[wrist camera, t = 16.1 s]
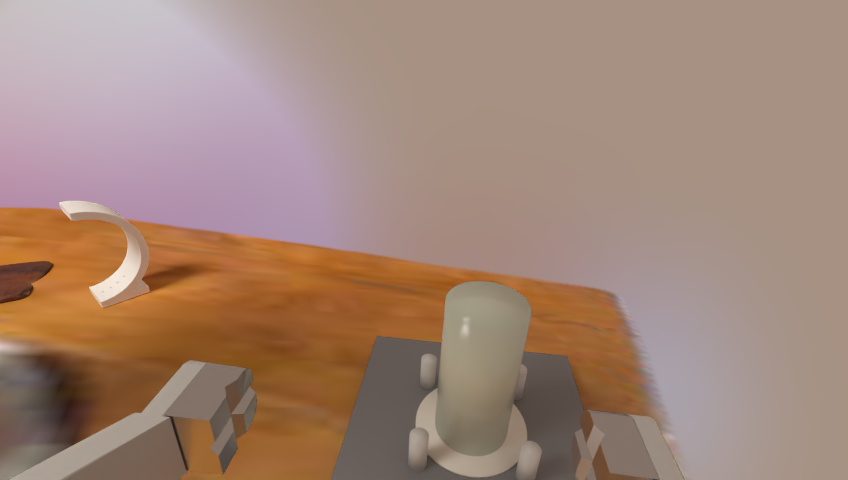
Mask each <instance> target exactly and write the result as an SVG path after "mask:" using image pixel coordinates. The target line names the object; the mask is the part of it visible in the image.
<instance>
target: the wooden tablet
mask: <svg viewBox="0 0 848 480" xmlns="http://www.w3.org/2000/svg"><path fill="white" fill-rule="evenodd" d="M51 267H52V263H50V262H48V261H39V262H28V263H19V264H10V265H2V266H0V303H3V302H9V301H13V300H19V299H23V298H25V297H26V296H28V295H29V293H30V292H31V290H32V288H33V286H32V285H31V283H33V282H35V281H37V280H39V279H41V278H42V277H43V276H44V275H46V274H47V273H48V271H49V270H50V269H51Z"/></svg>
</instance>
